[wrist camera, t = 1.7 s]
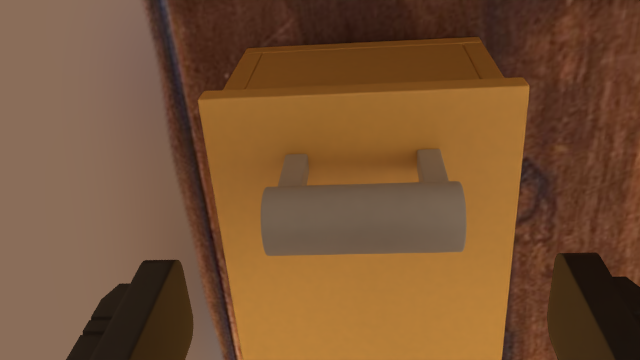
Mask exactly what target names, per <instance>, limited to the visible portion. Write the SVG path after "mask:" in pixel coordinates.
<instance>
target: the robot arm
mask: <svg viewBox="0 0 640 360" xmlns="http://www.w3.org/2000/svg"><path fill="white" fill-rule="evenodd" d="M547 322H548V331H549V336H550V340H551V343H552V345H553V348H554V350H555V353H556V355H557V358H558V360H640V287H639V286H638V285H636V284H635V283H634V282H632V281H631V280H630V279H628V278H627V277H612V276H611V274H610V272H609V271H608V269H607V267H606V265H605V264H604V262H603V260H602V259H601V257H600V256H599V255H598V254H597V253H559V254H557V256H556V258H555V263H554V269H553V276H552V283H551V290H550V297H549V304H548V312H547ZM192 335H193V314H192V309H191V305H190V300H189V295H188V291H187V286H186V281H185V277H184V272H183V268H182V265H181V262H180V261H179V260H145V261H143V262H142V263H141V265H140V267H139V269H138V270H137V272H136V274H135V276H134V278H133V280H132V282H131V284H119V285H118V286H117V287H115V288H114V289H113V290H112V291H111V292H110V293H108V294H107V295H106V296H105V297H104V298H102V299H101V301H100V303H99V305H98V306H97V308H96V310H95V311H94V313H93V315H92V317H91V320H89V322H88V323H87V325H86V327H85V328H84V330H83V335H80V337H79V339H78V341H77V342H76V344H75V345H74V347H73V349H72V351H71V352H70V354H69V356H68V357H67V359H66V360H185V358H186V355H187V353H188V349H189V347H190V344H191V340H192Z"/></svg>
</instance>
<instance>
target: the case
mask: <svg viewBox="0 0 640 360" xmlns="http://www.w3.org/2000/svg"><path fill="white" fill-rule="evenodd" d="M496 78H504V76H503V75H502V73H501V72H500V70H499V68H498V67H497V65H496V64H495V62H494V61H493V59H492V57H491V56H490V54H489V53H488V51H487V50H486V48H485V46H484V45H483V43H482V41H481V40H480V38H479V37H463V38H442V39H422V40H402V41H381V42H361V43H341V44H320V45H300V46H280V47H259V48H247V49H246V51H245V52H244V54H243V56H242V58H241V59H240V61H239V63H238V64H237V66H236V68H235V70H234V71H233V73H232V75H231V77H230V78H229V80H228V82H227V83H226V85H225V87H224V89H223V90H242V89H266V88H289V87H312V86H335V85H358V84H381V83H404V82H427V81H450V80H473V79H496Z"/></svg>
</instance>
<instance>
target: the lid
mask: <svg viewBox="0 0 640 360" xmlns="http://www.w3.org/2000/svg"><path fill="white" fill-rule="evenodd" d="M529 90H530V87H529V85H528V83H527V82H526V81H525V79H524V78H522V77H519V78H496V79H473V80H450V81H427V82H404V83H381V84H358V85H335V86H312V87H289V88H266V89H242V90H219V91H204V92H203V93H202V95H201V96H200V98H199V99H198V106H199V111H200V117H201V123H202V129H203V134H204V140H205V146H206V152H207V157H208V163H209V169H210V175H211V181H212V186H213V192H214V198H215V204H216V209H217V215H218V221H219V227H220V232H221V238H222V244H223V250H224V256H225V261H226V267H227V273H228V279H229V284H230V290H231V296H232V302H233V307H234V313H235V319H236V325H237V331H238V336H239V342H240V348H241V354H242V359H243V360H502V351H503V341H504V331H505V322H506V312H507V302H508V293H509V283H510V273H511V264H512V254H513V244H514V235H515V225H516V216H517V206H518V196H519V187H520V177H521V167H522V158H523V148H524V138H525V129H526V119H527V109H528V100H529Z"/></svg>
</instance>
